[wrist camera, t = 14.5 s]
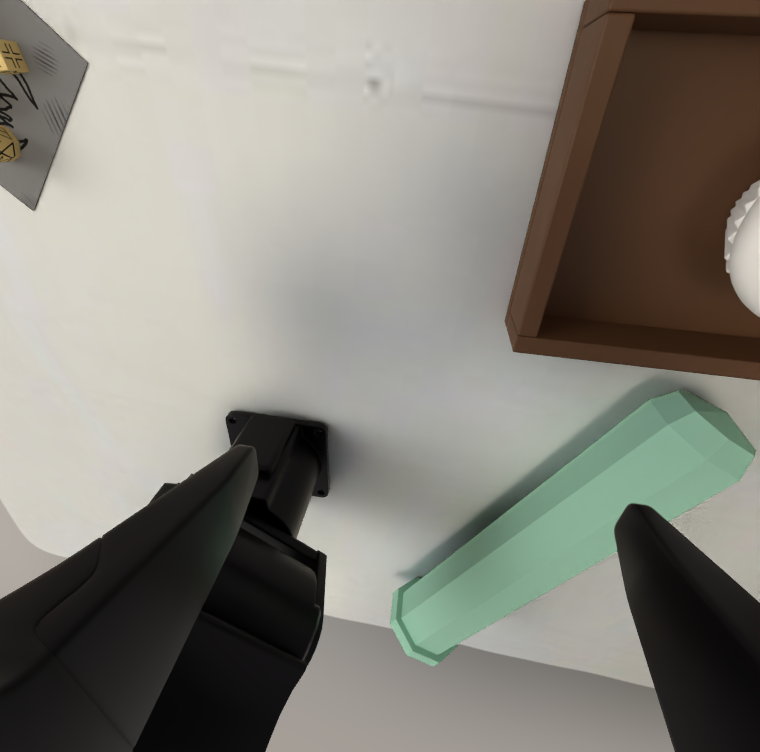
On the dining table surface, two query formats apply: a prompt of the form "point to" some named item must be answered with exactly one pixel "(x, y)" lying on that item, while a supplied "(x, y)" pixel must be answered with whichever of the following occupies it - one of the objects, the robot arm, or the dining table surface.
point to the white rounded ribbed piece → (745, 248)
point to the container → (573, 520)
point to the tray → (646, 192)
